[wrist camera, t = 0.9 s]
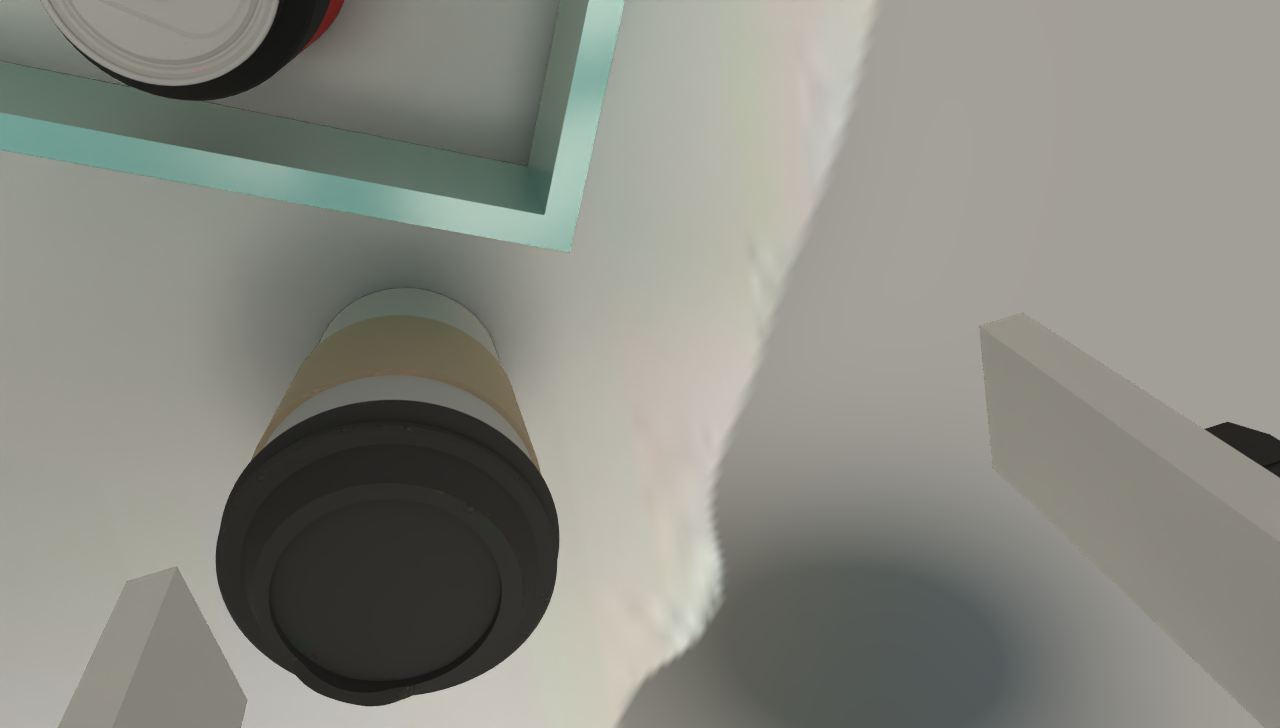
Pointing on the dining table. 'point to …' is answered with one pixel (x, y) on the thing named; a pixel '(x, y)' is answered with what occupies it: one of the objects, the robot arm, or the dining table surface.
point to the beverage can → (192, 40)
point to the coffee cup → (391, 510)
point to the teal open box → (337, 145)
